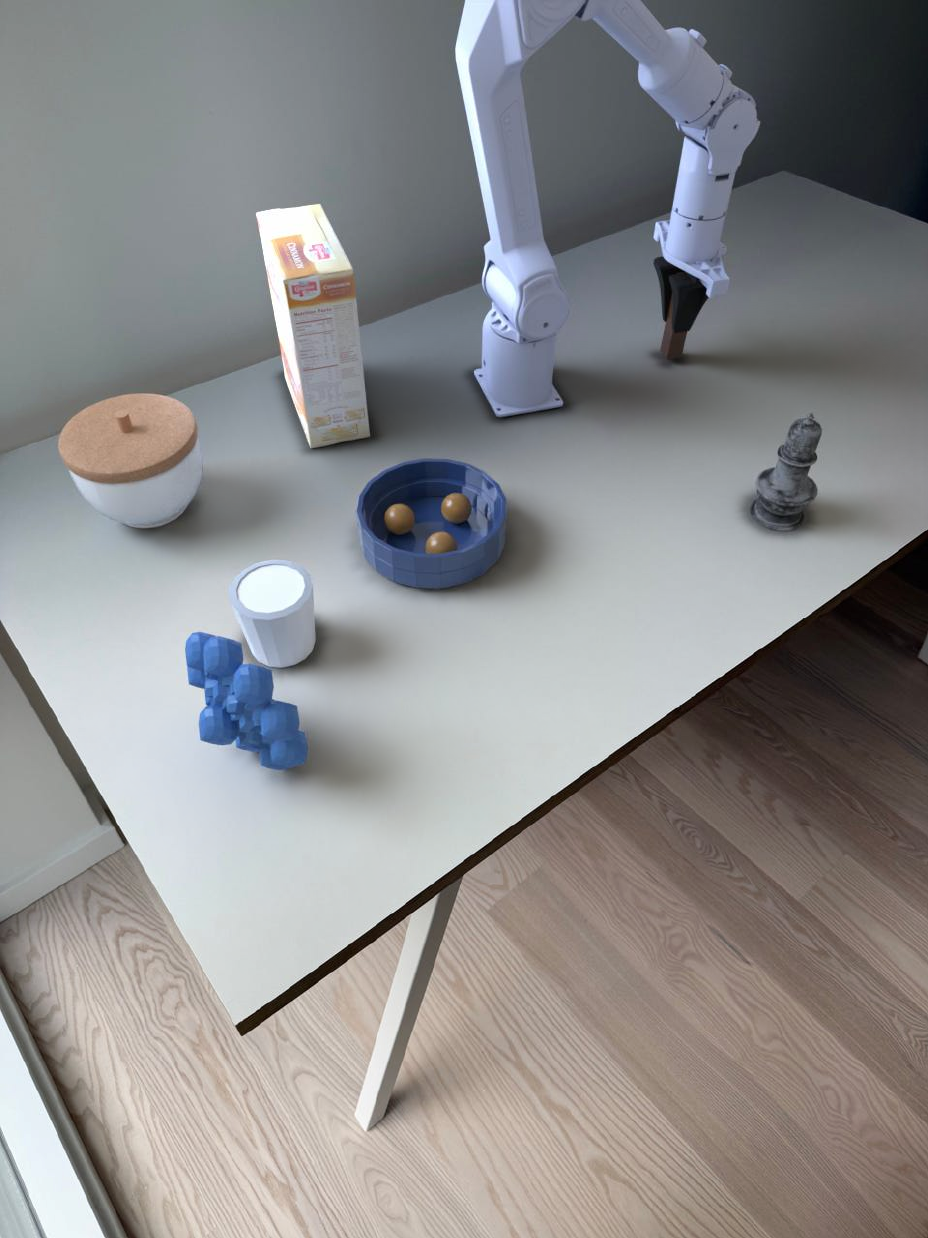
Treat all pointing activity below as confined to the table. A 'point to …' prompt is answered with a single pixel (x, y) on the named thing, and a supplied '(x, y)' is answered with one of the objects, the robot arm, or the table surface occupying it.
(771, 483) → the grey chess piece
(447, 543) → the bead
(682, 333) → the stick
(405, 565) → the bowl
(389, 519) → the bead
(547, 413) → the table surface
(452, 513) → the bead
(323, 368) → the coffeecake box
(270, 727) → the grapes
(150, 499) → the lidded bowl
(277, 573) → the white cylinder
